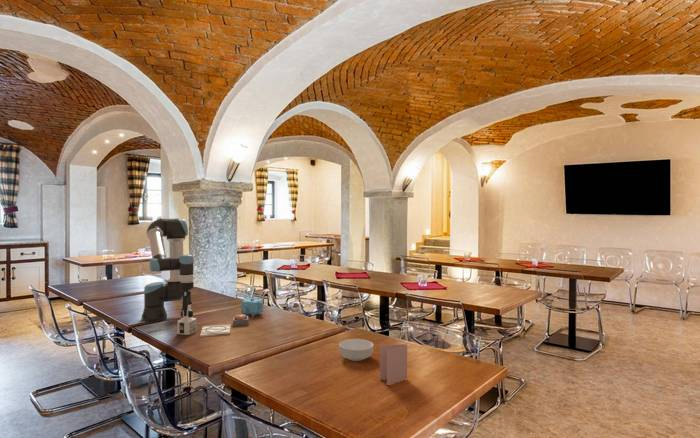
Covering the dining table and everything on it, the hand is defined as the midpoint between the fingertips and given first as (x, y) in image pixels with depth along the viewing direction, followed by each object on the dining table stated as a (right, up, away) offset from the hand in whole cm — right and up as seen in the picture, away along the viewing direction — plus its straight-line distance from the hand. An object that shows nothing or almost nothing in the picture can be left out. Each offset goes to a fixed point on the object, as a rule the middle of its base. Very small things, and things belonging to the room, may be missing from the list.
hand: (187, 318), depth 244 cm
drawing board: (+15, -8, +4) cm, 18 cm away
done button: (+26, -5, +20) cm, 33 cm away
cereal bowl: (+97, -10, -40) cm, 105 cm away
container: (0, -9, +1) cm, 9 cm away
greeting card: (+112, -11, -68) cm, 131 cm away
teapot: (+28, -7, +42) cm, 51 cm away
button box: (+26, -8, +20) cm, 33 cm away
